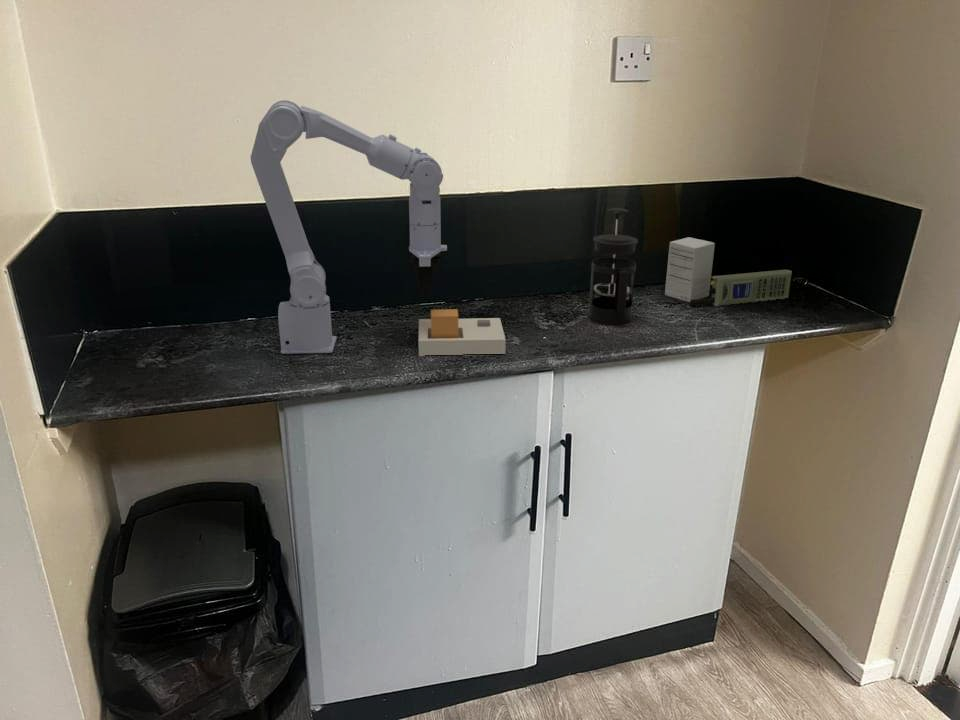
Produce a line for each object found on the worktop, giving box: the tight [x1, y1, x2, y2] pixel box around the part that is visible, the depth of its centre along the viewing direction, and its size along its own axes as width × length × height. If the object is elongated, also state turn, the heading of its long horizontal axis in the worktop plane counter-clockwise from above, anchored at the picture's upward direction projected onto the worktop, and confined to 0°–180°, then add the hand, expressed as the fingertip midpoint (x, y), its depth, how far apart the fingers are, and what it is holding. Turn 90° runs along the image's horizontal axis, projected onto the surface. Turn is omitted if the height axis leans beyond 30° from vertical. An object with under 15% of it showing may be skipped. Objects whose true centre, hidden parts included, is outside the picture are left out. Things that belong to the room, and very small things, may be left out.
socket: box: [418, 317, 507, 357], centre depth 148 cm, size 16×12×4 cm
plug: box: [430, 308, 459, 339], centre depth 145 cm, size 5×4×7 cm
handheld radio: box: [689, 269, 793, 307], centre depth 173 cm, size 7×3×25 cm
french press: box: [587, 207, 639, 326], centre depth 158 cm, size 12×9×23 cm
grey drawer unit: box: [664, 236, 716, 303], centre depth 175 cm, size 7×7×13 cm
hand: (426, 293), depth 147 cm, fingers closed
